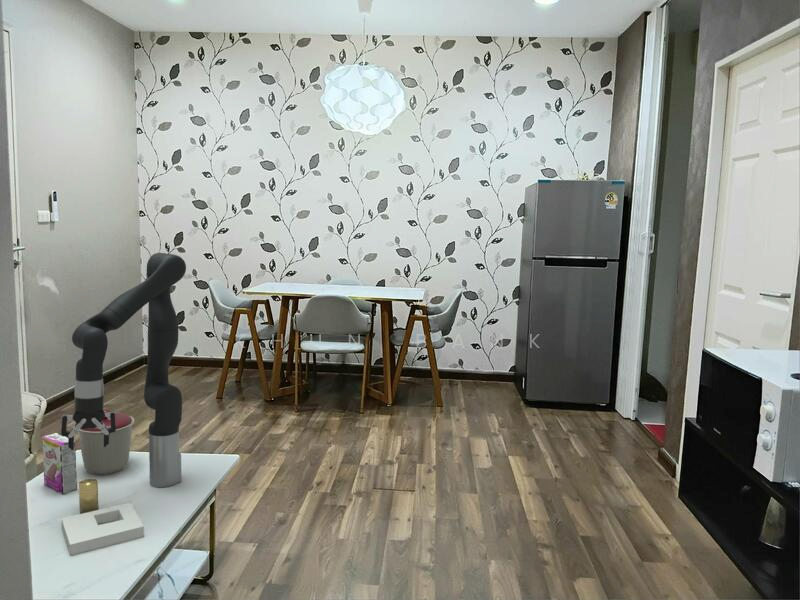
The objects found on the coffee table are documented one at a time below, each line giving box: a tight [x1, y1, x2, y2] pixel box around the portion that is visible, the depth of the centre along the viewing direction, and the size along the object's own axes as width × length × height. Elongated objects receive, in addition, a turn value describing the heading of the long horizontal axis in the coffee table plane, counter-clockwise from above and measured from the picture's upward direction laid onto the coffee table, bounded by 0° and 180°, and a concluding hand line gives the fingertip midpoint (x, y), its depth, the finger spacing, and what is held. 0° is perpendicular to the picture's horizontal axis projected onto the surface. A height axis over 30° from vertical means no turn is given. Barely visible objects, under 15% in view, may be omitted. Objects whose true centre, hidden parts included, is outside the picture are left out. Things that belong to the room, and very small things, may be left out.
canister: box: [77, 408, 135, 475], centre depth 209 cm, size 18×18×21 cm
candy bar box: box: [41, 432, 78, 495], centre depth 194 cm, size 11×5×16 cm, turn 58°
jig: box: [61, 502, 145, 556], centre depth 170 cm, size 18×16×3 cm
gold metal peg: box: [78, 478, 100, 514], centre depth 181 cm, size 5×5×9 cm
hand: (88, 447), depth 181 cm, fingers open, 8 cm apart
